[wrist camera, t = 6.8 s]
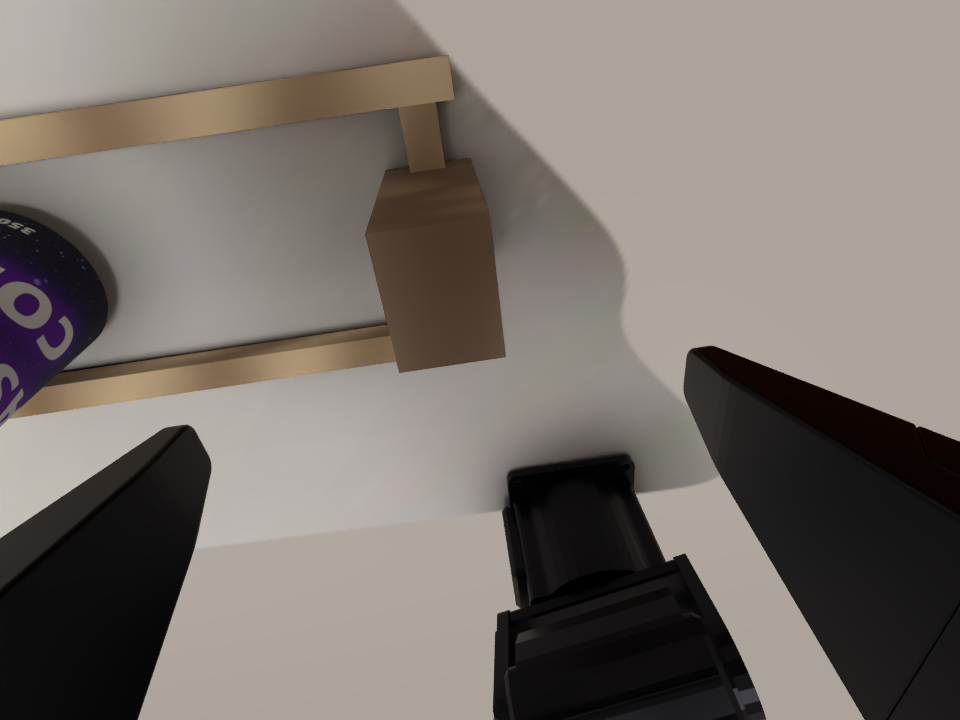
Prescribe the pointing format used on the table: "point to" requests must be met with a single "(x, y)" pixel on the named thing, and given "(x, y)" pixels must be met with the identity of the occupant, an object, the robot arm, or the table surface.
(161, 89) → the table surface
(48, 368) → the beverage can
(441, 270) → the wooden frame
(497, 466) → the table surface
